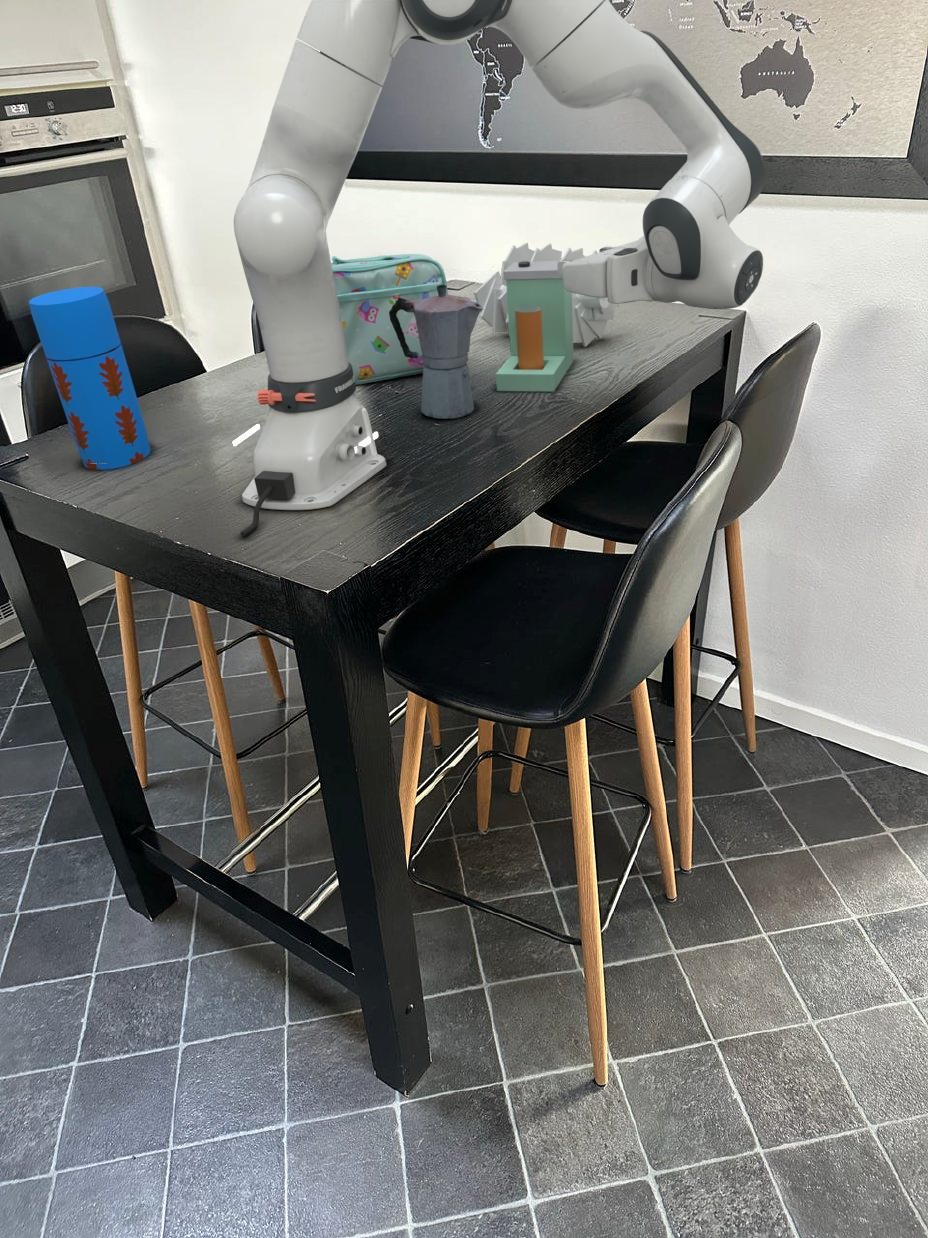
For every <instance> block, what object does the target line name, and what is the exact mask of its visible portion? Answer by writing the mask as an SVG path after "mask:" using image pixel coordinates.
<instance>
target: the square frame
mask: <svg viewBox="0 0 928 1238" xmlns="http://www.w3.org/2000/svg"><path fill="white" fill-rule="evenodd" d="M566 373H567V372H566V356H544V368H543V370H519V369H518V356H511V355H510V356H509V357H508V358H507V360H505V362H504V363H503V364H502V365H501V367H500V368H499V369H498V370H497V371H496V373H495V385H496V387H495V388H496V392H539V393H540V392H542V393H544V392H545V393H546V392H549V393H551V392H553V393H554V392H555V391H556V389H557V387H558V386H559V385H560V383H561V381H562V380H563V378H564V377H565V375H566Z"/></svg>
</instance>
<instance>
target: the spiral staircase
mask: <svg viewBox="0 0 928 1238" xmlns="http://www.w3.org/2000/svg"><path fill="white" fill-rule="evenodd" d="M596 253H599V251H597V249H596V250H593V251H592V253H591V255H593V254H596ZM562 254H563V251H562V250H558V249H555V248H553V245H552V243H551V242H549V243H547V244H546V245H545V246H543V247H542V248H539V247H536V248H535V250H533V249H531V248H529V242H524V243H522V244H521V245H519V246H517V247H516V245H514V244H513V245H512V246H511V248H510V250H509V251H508V253H507V255H506V257H505V259H504V260H502V262H501V263H502V264H501V270H500V271H499V270H496V271H495V272H494V273H493V274H492V275H491V276H490V277H489V278H488V279H487V280H486V281H484V283H483V284H481V285H480V286H479V287H478V288H477V289H476V290H475V291H474V292H473V295H474V299H475V302H477V303H478V304H480V305H482V307H483V310H482V311H480V315H479V317H480V318H481V319H482V320H483V321H484V322H485V323H486V324H487V325H488V326H489V327H490V328H492V333H494V334H498V333H499V334H500V333H507V334H508V337H510V333H509V317H508V301H507V285H506V280H504V271H505V270H506V269H507V268H508V267H509V266H510V265H511V264H512V263H514V262H524V261H528V262H539V261H562V260H565V259H567V260H577V259H580V258H583V257H586V255H584V248H583V247H579V248H577V249H574V250H572V248H571V247H568V248H567V249H566V251H565V252H564V254H563V256H562ZM618 307H619V304H613V303H609V302H608V297H607V298H597V297H590V296H585V295H581V294H576V293H572V319H573V344H581V343H582V346H583V348H587V347H588V345H590V344H591V342H593V340H595V338H597V339H601V338H602V336H603V334H604V331H605V328H606V325H607V323H608V321H609V320H610V321H613V320H614V310H615V309H616V308H618Z"/></svg>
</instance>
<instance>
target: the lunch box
mask: <svg viewBox="0 0 928 1238" xmlns="http://www.w3.org/2000/svg"><path fill="white" fill-rule="evenodd" d="M331 261H332V262H331V266H332V271H333V276H334V282H335V287H336V292H337V297H338V302H339V307H340V313H341V319H342V325H343V332H344V338H345V344H346V350H347V357H348V362H349V363H350V364H351V365H352V369H353V373H354V375H355V386H356V385H363V384H370V383H376V382H381V381H387V380H388V381H389V380H392V379H398V378H403V377H409V376H413V375H419V374H423V367H424V364H423V358H422V351H421V346H420V341H419V335H418V330H417V325H416V319H415V315H414V313H409V312H405V311H404V310H399V311H398V312H397V318H398V319H399V322H400V326H401V328H402V331H403V333H404V337H405V340H406V341H405V342H406V343H407V345H408V347H409V350H410V351H411V352H417V353H418V354H419V356H418V358H417V359H416V358H410V357H406V356H405V355H404V352H403V350H402V347H401V345H400V341H399V340H398V337H397V335H396V332H395V330H394V328H393V325H392V323H391V321H390V316H389V311H390V310H391V309H392V306H393V305H395V302H396V301H397V300H398V298H403V299H407V300H410V299H417V300H422V299H425V298H427V297H432V296H438V291H437V286H438V285H446V286H447V287H448V284H447V277H446V274H445V271H444V268H443V266H442V264H441V263H440V262H438V261H437V260H435V259H434V258H432V257H431V256H428V255H426V254H421V253H403V254H402V253H401V254H389V255H388V254H387V255H377V256H372V257H371V256H370V257H361V258H360V257H359V258H350V259H341V258H338V257H337V256H332V257H331ZM446 295H449V291H448V288H447V289H446Z"/></svg>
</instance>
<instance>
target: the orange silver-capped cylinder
mask: <svg viewBox="0 0 928 1238" xmlns="http://www.w3.org/2000/svg"><path fill="white" fill-rule="evenodd" d="M515 318H516V335H517V352H518V369H519V370H543V368H544V355H543V332H542V309H541V306H538V305H524V306H520V307H517V308H516V309H515Z"/></svg>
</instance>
